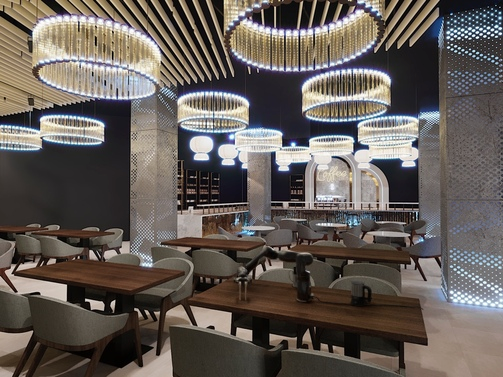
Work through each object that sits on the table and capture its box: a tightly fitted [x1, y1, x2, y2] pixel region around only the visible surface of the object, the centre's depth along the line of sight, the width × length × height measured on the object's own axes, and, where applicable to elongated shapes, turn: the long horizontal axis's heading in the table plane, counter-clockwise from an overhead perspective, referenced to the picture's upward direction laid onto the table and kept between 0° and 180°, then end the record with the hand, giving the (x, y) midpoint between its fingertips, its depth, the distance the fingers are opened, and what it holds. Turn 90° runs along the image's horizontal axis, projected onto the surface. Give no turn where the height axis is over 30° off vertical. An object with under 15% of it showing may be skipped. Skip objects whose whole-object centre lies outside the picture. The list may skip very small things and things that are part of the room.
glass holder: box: [288, 266, 297, 288], centre depth 269 cm, size 9×14×15 cm, turn 124°
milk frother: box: [350, 280, 373, 307], centre depth 228 cm, size 14×16×15 cm
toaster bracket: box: [238, 282, 248, 301], centre depth 231 cm, size 10×8×13 cm
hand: (242, 282), depth 249 cm, fingers open, 8 cm apart
